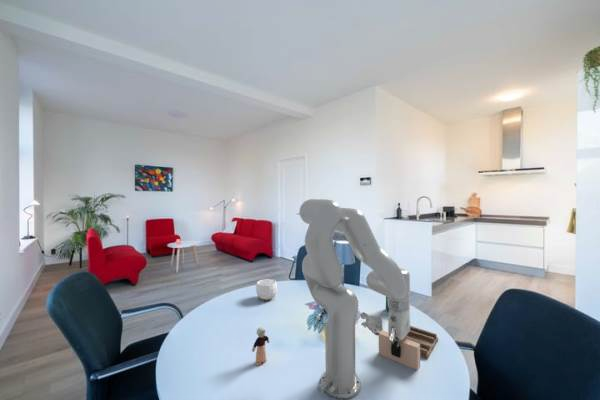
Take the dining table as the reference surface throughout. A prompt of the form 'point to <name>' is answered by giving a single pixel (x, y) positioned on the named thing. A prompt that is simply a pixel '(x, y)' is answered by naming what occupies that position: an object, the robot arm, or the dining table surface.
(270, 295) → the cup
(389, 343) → the tan flat block
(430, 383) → the dining table surface
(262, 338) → the grandmother figurine
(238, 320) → the dining table surface
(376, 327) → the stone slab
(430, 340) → the rack
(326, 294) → the robot arm
